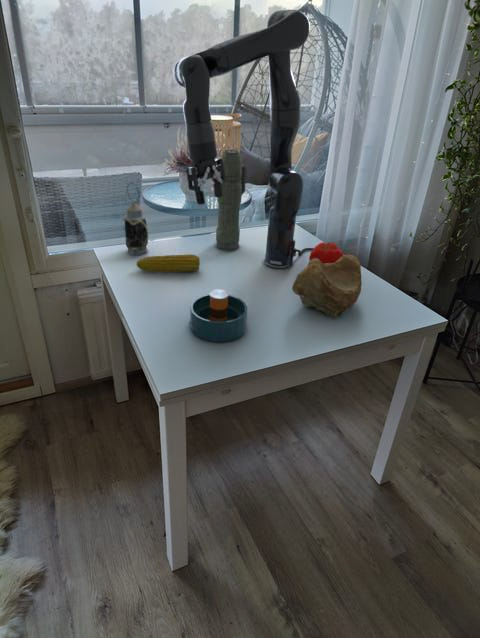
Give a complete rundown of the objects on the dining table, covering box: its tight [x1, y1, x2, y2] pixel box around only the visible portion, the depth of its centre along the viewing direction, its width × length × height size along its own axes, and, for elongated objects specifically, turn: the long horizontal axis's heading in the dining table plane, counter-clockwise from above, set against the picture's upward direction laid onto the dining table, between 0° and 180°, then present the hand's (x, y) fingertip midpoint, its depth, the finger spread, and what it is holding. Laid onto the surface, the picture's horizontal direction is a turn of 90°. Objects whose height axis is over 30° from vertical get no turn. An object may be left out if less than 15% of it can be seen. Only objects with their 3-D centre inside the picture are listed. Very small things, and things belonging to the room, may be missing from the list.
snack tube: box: [209, 289, 230, 322], centre depth 119 cm, size 5×5×10 cm
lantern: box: [122, 182, 149, 256], centre depth 156 cm, size 9×8×25 cm
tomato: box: [308, 241, 345, 264], centre depth 155 cm, size 11×12×9 cm
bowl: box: [189, 293, 248, 343], centre depth 121 cm, size 15×15×6 cm
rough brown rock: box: [291, 253, 362, 319], centre depth 131 cm, size 23×17×15 cm
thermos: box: [213, 149, 247, 252], centre depth 162 cm, size 9×12×35 cm
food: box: [136, 254, 201, 273], centre depth 148 cm, size 21×6×6 cm, turn 98°
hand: (210, 200), depth 128 cm, fingers open, 8 cm apart
